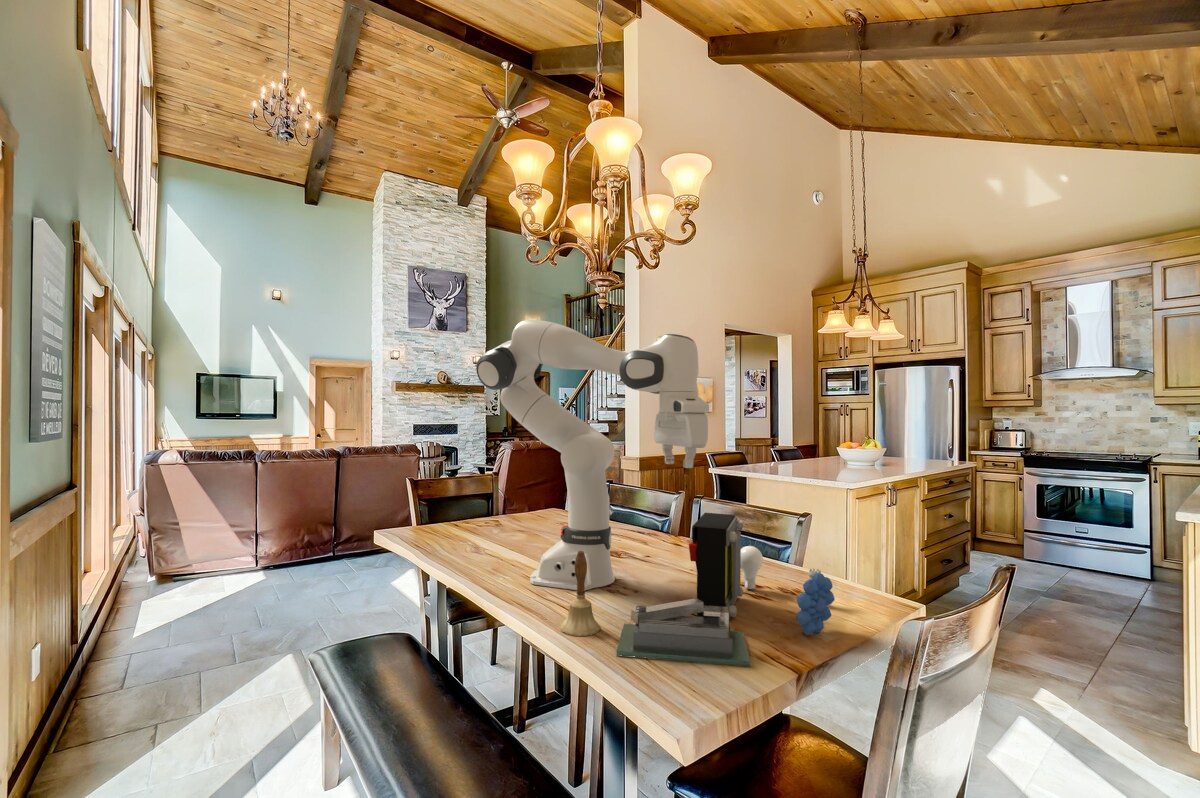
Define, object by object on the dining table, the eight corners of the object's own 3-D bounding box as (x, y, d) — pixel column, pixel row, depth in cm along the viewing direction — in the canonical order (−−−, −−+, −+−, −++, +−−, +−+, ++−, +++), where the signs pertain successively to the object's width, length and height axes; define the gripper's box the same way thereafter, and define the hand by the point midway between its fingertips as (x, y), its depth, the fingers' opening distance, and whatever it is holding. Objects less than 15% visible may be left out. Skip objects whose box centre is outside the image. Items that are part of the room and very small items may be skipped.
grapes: (812, 619, 119) (812, 564, 119) (841, 629, 114) (842, 572, 114) (780, 632, 112) (780, 573, 112) (810, 643, 107) (810, 582, 107)
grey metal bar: (637, 624, 104) (637, 610, 104) (631, 619, 107) (631, 606, 107) (703, 611, 111) (703, 599, 111) (695, 607, 113) (695, 595, 113)
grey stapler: (616, 656, 100) (616, 615, 100) (624, 628, 113) (624, 592, 113) (750, 666, 97) (750, 624, 97) (742, 636, 109) (742, 599, 110)
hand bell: (603, 635, 110) (604, 555, 110) (563, 638, 108) (564, 557, 108) (595, 619, 118) (596, 545, 118) (557, 622, 116) (558, 547, 117)
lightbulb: (760, 586, 142) (760, 543, 142) (765, 594, 135) (765, 549, 136) (735, 585, 142) (735, 542, 142) (739, 593, 136) (739, 548, 136)
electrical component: (735, 623, 116) (735, 530, 117) (688, 617, 120) (688, 526, 120) (743, 597, 133) (743, 515, 133) (701, 592, 136) (702, 512, 137)
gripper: (648, 405, 133) (647, 462, 133) (686, 404, 114) (686, 470, 113) (671, 405, 135) (671, 461, 135) (713, 404, 116) (713, 469, 115)
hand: (678, 465), depth 124 cm, fingers open, 8 cm apart
